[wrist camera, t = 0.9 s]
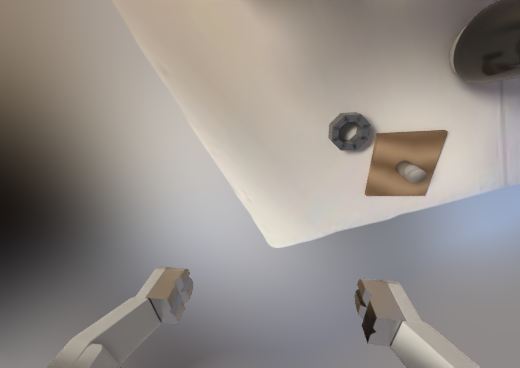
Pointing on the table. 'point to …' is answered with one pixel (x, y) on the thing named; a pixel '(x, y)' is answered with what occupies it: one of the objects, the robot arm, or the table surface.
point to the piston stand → (403, 162)
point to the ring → (357, 138)
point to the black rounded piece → (489, 45)
